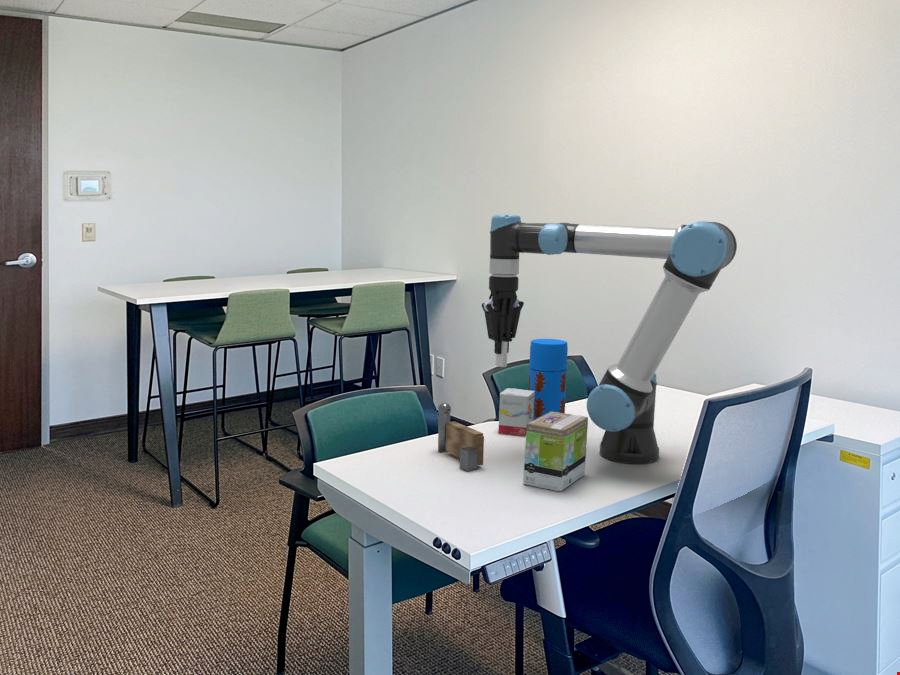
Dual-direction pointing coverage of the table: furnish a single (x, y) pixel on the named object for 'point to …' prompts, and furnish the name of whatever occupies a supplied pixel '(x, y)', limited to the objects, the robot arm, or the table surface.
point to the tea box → (555, 450)
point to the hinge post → (443, 425)
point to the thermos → (548, 375)
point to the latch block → (468, 459)
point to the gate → (464, 440)
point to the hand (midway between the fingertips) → (501, 365)
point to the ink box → (515, 411)
